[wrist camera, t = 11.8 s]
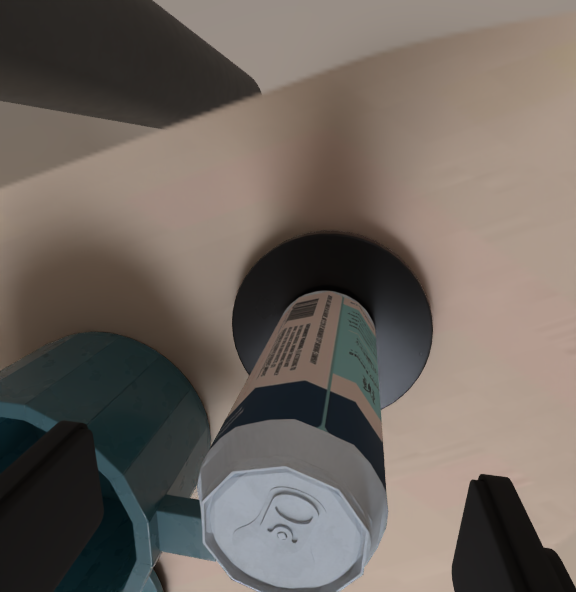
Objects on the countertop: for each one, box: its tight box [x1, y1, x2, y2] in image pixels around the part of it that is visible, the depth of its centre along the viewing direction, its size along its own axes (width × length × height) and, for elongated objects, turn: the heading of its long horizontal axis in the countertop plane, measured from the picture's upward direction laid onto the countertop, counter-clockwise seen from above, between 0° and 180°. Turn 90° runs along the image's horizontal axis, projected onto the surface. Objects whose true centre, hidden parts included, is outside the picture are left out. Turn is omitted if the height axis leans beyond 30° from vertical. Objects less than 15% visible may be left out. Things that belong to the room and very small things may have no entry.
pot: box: [0, 332, 216, 592], centre depth 22 cm, size 13×18×8 cm
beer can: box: [197, 291, 388, 592], centre depth 15 cm, size 5×5×12 cm
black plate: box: [232, 231, 433, 410], centre depth 21 cm, size 10×10×1 cm
